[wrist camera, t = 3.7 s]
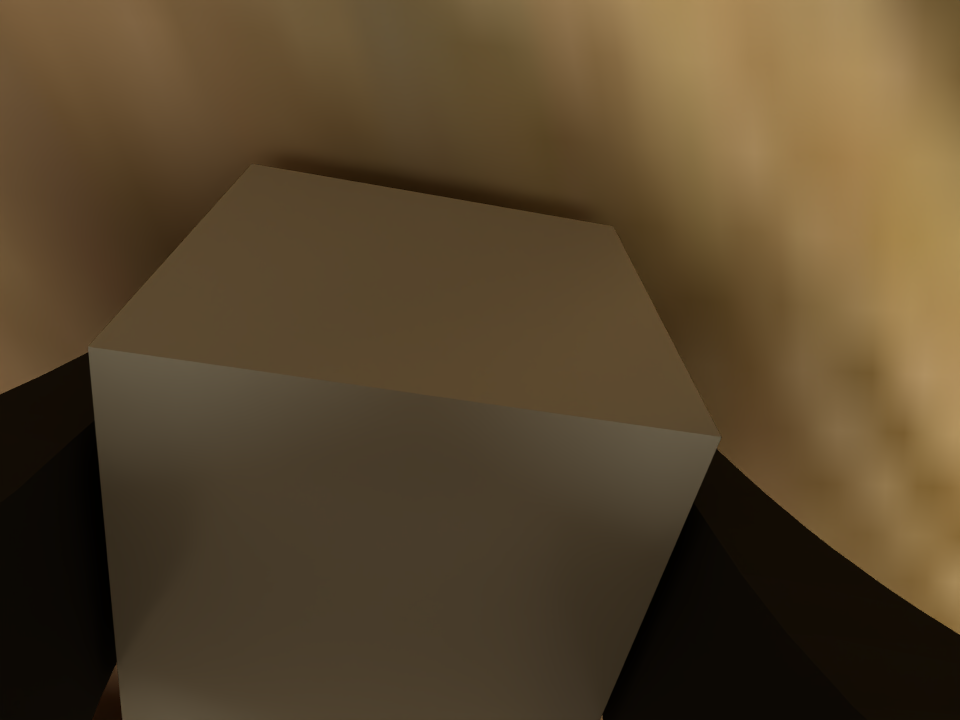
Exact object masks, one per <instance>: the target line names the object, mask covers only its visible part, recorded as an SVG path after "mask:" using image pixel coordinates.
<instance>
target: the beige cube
mask: <svg viewBox="0 0 960 720" xmlns="http://www.w3.org/2000/svg"><path fill="white" fill-rule="evenodd" d="M88 353H89V363H90V374H91V385H92V396H93V407H94V418H95V429H96V439H97V450H98V461H99V472H100V483H101V494H102V505H103V515H104V526H105V537H106V548H107V559H108V570H109V581H110V591H111V602H112V613H113V624H114V635H115V646H116V657H117V667H118V678H119V689H120V700H121V711H122V720H600V719H601V716H602V714H603V712H604V709H605V707H606V705H607V702H608V700H609V698H610V695H611V693H612V691H613V688H614V686H615V684H616V681H617V679H618V677H619V674H620V672H621V670H622V667H623V665H624V663H625V660H626V658H627V656H628V653H629V651H630V649H631V646H632V644H633V642H634V639H635V637H636V635H637V632H638V630H639V628H640V625H641V623H642V621H643V618H644V616H645V614H646V611H647V609H648V607H649V604H650V602H651V600H652V598H653V595H654V593H655V591H656V588H657V586H658V584H659V581H660V579H661V577H662V574H663V572H664V570H665V567H666V565H667V563H668V560H669V558H670V556H671V553H672V551H673V549H674V546H675V544H676V542H677V539H678V537H679V535H680V532H681V530H682V528H683V525H684V523H685V521H686V518H687V516H688V514H689V511H690V509H691V507H692V504H693V502H694V500H695V497H696V495H697V493H698V490H699V488H700V486H701V483H702V481H703V479H704V476H705V474H706V472H707V470H708V467H709V465H710V463H711V460H712V458H713V456H714V453H715V451H716V449H717V446H718V444H719V442H720V439H721V435H720V433H719V431H718V429H717V427H716V426H715V424H714V422H713V420H712V418H711V416H710V414H709V412H708V410H707V408H706V406H705V404H704V402H703V400H702V398H701V396H700V394H699V392H698V391H697V389H696V387H695V385H694V383H693V381H692V379H691V377H690V375H689V373H688V371H687V369H686V367H685V365H684V363H683V361H682V359H681V357H680V355H679V354H678V352H677V350H676V348H675V346H674V344H673V342H672V340H671V338H670V336H669V334H668V332H667V330H666V328H665V326H664V324H663V322H662V320H661V319H660V317H659V315H658V313H657V311H656V309H655V307H654V305H653V303H652V301H651V299H650V297H649V295H648V293H647V291H646V289H645V287H644V285H643V283H642V282H641V280H640V278H639V276H638V274H637V272H636V270H635V268H634V266H633V264H632V262H631V260H630V258H629V256H628V254H627V252H626V250H625V248H624V247H623V245H622V243H621V241H620V239H619V237H618V235H617V233H616V231H615V229H614V227H613V226H609V225H603V224H597V223H592V222H586V221H580V220H574V219H569V218H563V217H557V216H551V215H546V214H540V213H534V212H528V211H522V210H517V209H511V208H505V207H499V206H494V205H488V204H482V203H476V202H470V201H465V200H459V199H453V198H447V197H442V196H436V195H430V194H424V193H419V192H413V191H407V190H401V189H395V188H390V187H384V186H378V185H372V184H367V183H361V182H355V181H349V180H343V179H338V178H332V177H326V176H320V175H315V174H309V173H303V172H297V171H292V170H286V169H280V168H274V167H268V166H263V165H257V164H251V165H250V166H249V167H248V169H247V170H246V171H245V172H244V173H243V174H242V175H241V176H240V178H239V179H238V180H237V181H236V182H235V183H234V184H233V185H232V186H231V188H230V189H229V190H228V191H227V192H226V193H225V194H224V195H223V197H222V198H221V199H220V200H219V201H218V202H217V203H216V204H215V205H214V207H213V208H212V209H211V210H210V211H209V212H208V213H207V214H206V215H205V217H204V218H203V219H202V220H201V221H200V222H199V223H198V224H197V226H196V227H195V228H194V229H193V230H192V231H191V232H190V233H189V234H188V236H187V237H186V238H185V239H184V240H183V241H182V242H181V243H180V245H179V246H178V247H177V248H176V249H175V250H174V251H173V252H172V253H171V255H170V256H169V257H168V258H167V259H166V260H165V261H164V262H163V263H162V265H161V266H160V267H159V268H158V269H157V270H156V271H155V272H154V274H153V275H152V276H151V277H150V278H149V279H148V280H147V281H146V282H145V284H144V285H143V286H142V287H141V288H140V289H139V290H138V291H137V293H136V294H135V295H134V296H133V297H132V298H131V299H130V300H129V301H128V303H127V304H126V305H125V306H124V307H123V308H122V309H121V310H120V311H119V313H118V314H117V315H116V316H115V317H114V318H113V319H112V320H111V322H110V323H109V324H108V325H107V326H106V327H105V328H104V329H103V330H102V332H101V333H100V334H99V335H98V336H97V337H96V338H95V339H94V341H93V342H92V343H91V344H90V345H89V346H88Z"/></svg>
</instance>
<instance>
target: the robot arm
mask: <svg viewBox="0 0 960 720" xmlns="http://www.w3.org/2000/svg"><path fill="white" fill-rule="evenodd" d="M116 663H117V657H116V646H115V635H114V624H113V613H112V602H111V591H110V581H109V570H108V559H107V548H106V537H105V526H104V515H103V505H102V494H101V483H100V472H99V461H98V450H97V439H96V429H95V418H94V407H93V396H92V385H91V374H90V363H89V353H86V354H84V355H82V356H80V357H78V358H76V359H74V360H72V361H70V362H68V363H66V364H64V365H62V366H60V367H58V368H56V369H54V370H52V371H50V372H48V373H46V374H44V375H42V376H40V377H38V378H36V379H33V380H31V381H29V382H27V383H25V384H22V385H20V386H18V387H16V388H14V389H11V390H9V391H7V392H5V393H3V394H0V720H92V718H93V715H94V713H95V710H96V708H97V705H98V703H99V700H100V698H101V695H102V693H103V691H104V689H105V687H106V685H107V682H108V680H109V678H110V676H111V674H112V672H113V669H114V667H115V665H116ZM602 715H603V720H960V635H959V634H957V633H956V632H954V631H953V630H951V629H950V628H948V627H946V626H945V625H943V624H942V623H940V622H938V621H937V620H935V619H934V618H932V617H930V616H929V615H927V614H926V613H924V612H922V611H921V610H919V609H918V608H916V607H915V606H913V605H912V604H910V603H909V602H907V601H906V600H904V599H903V598H901V597H900V596H898V595H897V594H895V593H894V592H892V591H891V590H889V589H888V588H886V587H885V586H884V585H882V584H881V583H879V582H878V581H877V580H875V579H874V578H873V577H871V576H870V575H868V574H867V573H866V572H864V571H863V570H862V569H860V568H859V567H857V566H856V565H855V564H853V563H852V562H850V561H849V560H848V559H846V558H845V557H844V556H842V555H841V554H839V553H838V552H837V551H835V550H834V549H833V548H831V547H830V546H829V545H827V544H826V543H825V542H824V541H822V540H821V539H820V538H818V537H817V536H816V535H815V534H813V533H812V532H811V531H810V530H808V529H807V528H806V527H805V526H803V525H802V524H801V523H800V522H799V521H797V520H796V519H795V518H794V517H793V516H791V515H790V514H789V513H788V512H787V511H786V510H784V509H783V508H782V507H781V506H780V505H778V504H777V503H776V502H775V501H774V500H772V499H771V498H770V497H769V496H768V495H767V494H765V493H764V492H763V491H762V490H761V489H760V488H759V487H757V486H756V485H755V484H754V483H753V482H752V481H751V480H750V479H748V478H747V477H746V476H745V475H744V474H743V473H742V472H741V471H740V470H739V469H737V468H736V467H735V466H734V465H733V464H732V463H731V462H730V461H729V460H728V459H727V458H726V457H725V456H723V455H722V454H721V453H720V452H719V451H718V450H717V449H716V451H715V453H714V456H713V458H712V460H711V463H710V465H709V467H708V470H707V472H706V474H705V476H704V479H703V481H702V483H701V486H700V488H699V490H698V493H697V495H696V497H695V500H694V502H693V504H692V507H691V509H690V511H689V514H688V516H687V518H686V521H685V523H684V525H683V528H682V530H681V532H680V535H679V537H678V539H677V542H676V544H675V546H674V549H673V551H672V553H671V556H670V558H669V560H668V563H667V565H666V567H665V570H664V572H663V574H662V577H661V579H660V581H659V584H658V586H657V588H656V591H655V593H654V595H653V598H652V600H651V602H650V604H649V607H648V609H647V611H646V614H645V616H644V618H643V621H642V623H641V625H640V628H639V630H638V632H637V635H636V637H635V639H634V642H633V644H632V646H631V649H630V651H629V653H628V656H627V658H626V660H625V663H624V665H623V667H622V670H621V672H620V674H619V677H618V679H617V681H616V684H615V686H614V688H613V691H612V693H611V695H610V698H609V700H608V702H607V705H606V707H605V709H604V712H603V714H602Z"/></svg>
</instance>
